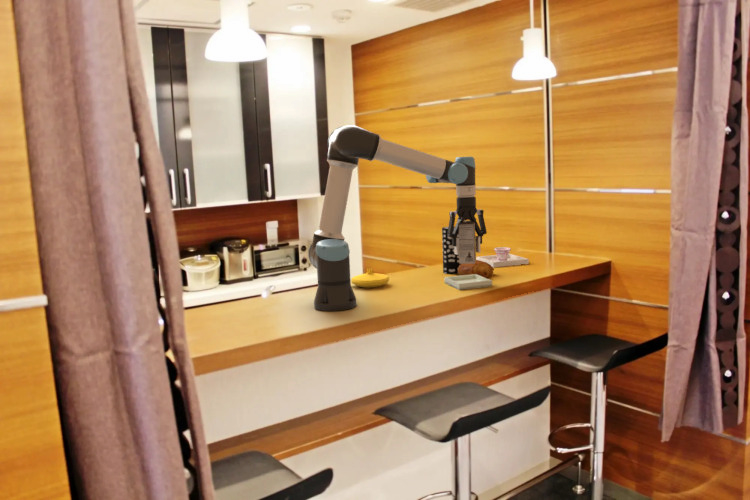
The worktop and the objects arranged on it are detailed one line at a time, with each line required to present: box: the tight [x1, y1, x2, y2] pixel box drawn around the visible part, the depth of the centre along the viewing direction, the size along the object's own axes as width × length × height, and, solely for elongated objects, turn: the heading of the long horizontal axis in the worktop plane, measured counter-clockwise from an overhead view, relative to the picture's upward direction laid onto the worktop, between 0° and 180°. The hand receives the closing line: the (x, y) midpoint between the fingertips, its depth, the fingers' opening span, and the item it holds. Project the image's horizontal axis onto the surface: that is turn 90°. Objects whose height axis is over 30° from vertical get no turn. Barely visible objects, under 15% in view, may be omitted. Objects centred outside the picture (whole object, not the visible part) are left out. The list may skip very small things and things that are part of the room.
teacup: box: [490, 246, 515, 262], centre depth 294 cm, size 12×12×6 cm
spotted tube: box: [441, 226, 460, 275], centre depth 274 cm, size 8×8×20 cm
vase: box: [350, 268, 390, 288], centre depth 254 cm, size 16×16×7 cm
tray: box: [444, 274, 493, 291], centre depth 248 cm, size 14×15×2 cm
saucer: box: [476, 253, 530, 268], centre depth 294 cm, size 18×18×2 cm
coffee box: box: [458, 220, 477, 264], centre depth 246 cm, size 9×6×16 cm
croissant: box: [458, 260, 495, 278], centre depth 266 cm, size 14×16×8 cm
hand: (467, 253), depth 247 cm, fingers closed on coffee box, 9 cm apart
